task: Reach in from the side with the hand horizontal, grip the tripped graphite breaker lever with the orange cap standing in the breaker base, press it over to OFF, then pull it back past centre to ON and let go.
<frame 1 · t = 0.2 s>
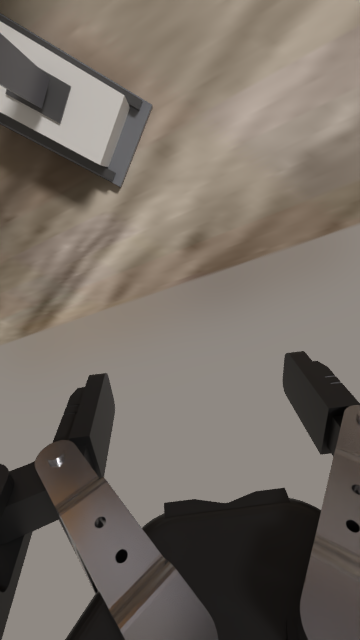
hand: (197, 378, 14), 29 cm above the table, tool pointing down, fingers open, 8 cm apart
breaker base: (59, 105, 33), on the table
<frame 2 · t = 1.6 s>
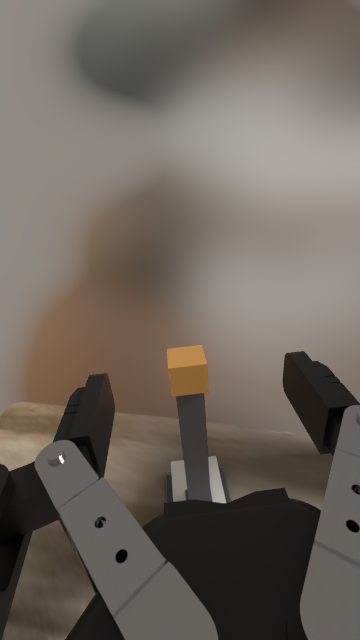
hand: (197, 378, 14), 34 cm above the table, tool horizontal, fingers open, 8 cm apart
breaker lever: (193, 441, 31), point 18 cm above the table, hinge at 0.0°
breaker base: (202, 536, 39), on the table
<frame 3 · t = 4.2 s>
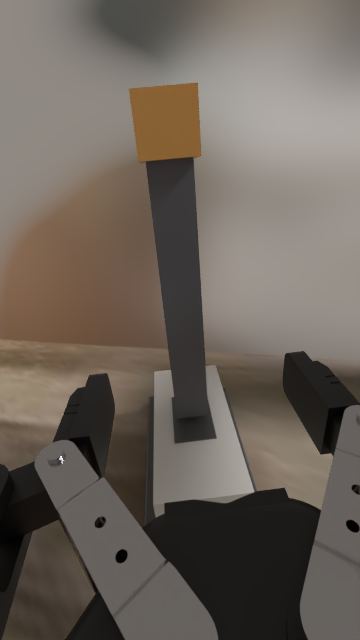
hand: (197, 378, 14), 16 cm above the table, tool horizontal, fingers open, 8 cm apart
breaker lever: (180, 287, 20), point 18 cm above the table, hinge at 0.0°
breaker base: (196, 465, 28), on the table
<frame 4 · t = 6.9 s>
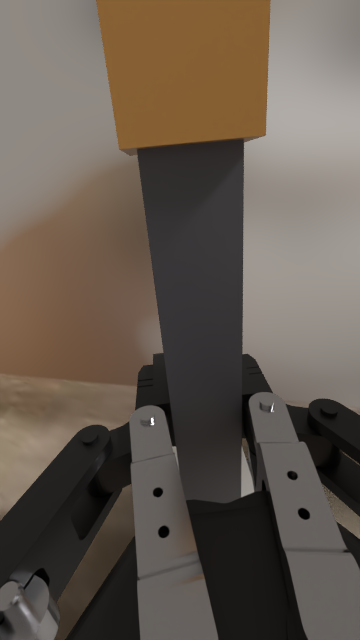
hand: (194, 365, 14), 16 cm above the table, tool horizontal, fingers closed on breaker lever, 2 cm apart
breaker lever: (202, 377, 11), point 17 cm above the table, hinge at 0.0°, touching gripper
breaker base: (216, 599, 19), on the table
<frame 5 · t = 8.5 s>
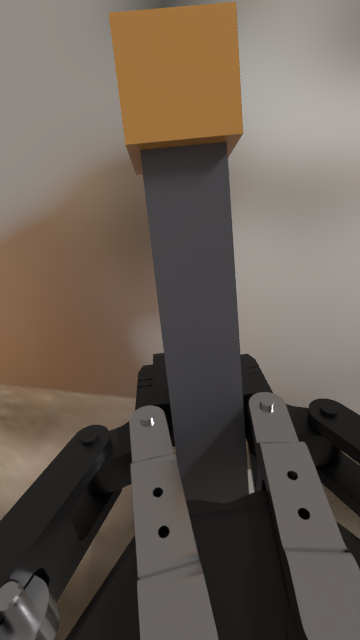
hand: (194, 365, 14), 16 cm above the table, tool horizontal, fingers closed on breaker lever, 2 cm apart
breaker lever: (202, 376, 11), point 17 cm above the table, hinge at 14.8°, touching gripper
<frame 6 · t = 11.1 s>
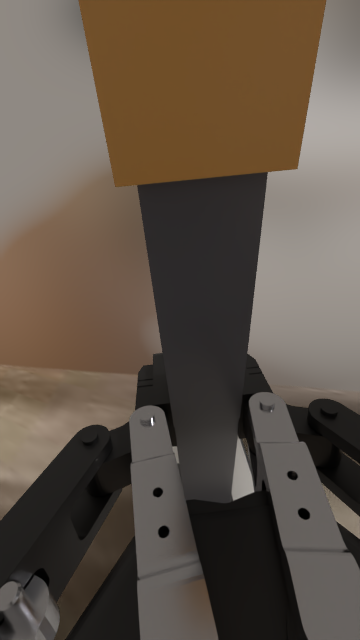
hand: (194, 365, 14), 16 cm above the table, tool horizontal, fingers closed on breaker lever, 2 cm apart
breaker lever: (202, 380, 11), point 17 cm above the table, hinge at -14.5°, touching gripper
breaker base: (210, 551, 21), on the table
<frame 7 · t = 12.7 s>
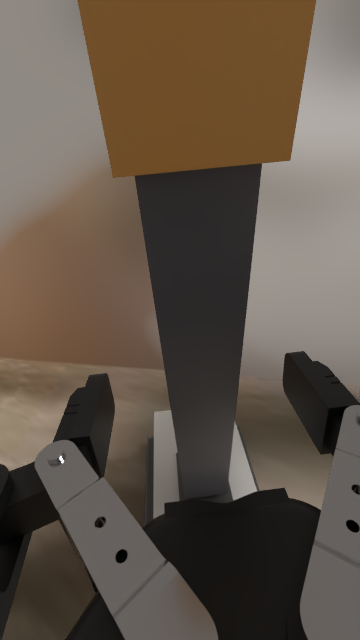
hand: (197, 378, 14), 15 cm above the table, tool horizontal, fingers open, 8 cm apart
breaker lever: (199, 369, 11), point 17 cm above the table, hinge at -14.9°
breaker base: (207, 538, 22), on the table
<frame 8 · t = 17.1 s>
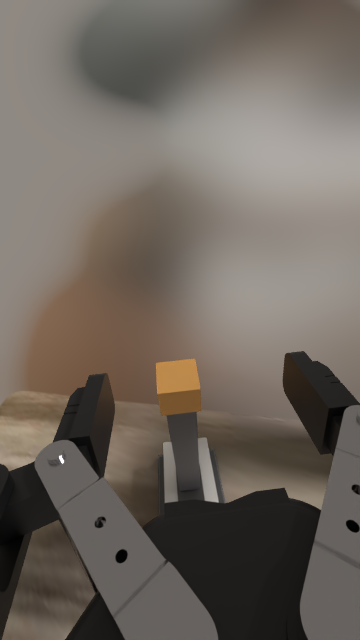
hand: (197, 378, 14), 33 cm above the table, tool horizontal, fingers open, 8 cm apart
breaker lever: (184, 440, 30), point 17 cm above the table, hinge at -14.9°
breaker base: (192, 512, 41), on the table
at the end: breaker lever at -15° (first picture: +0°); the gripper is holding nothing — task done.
